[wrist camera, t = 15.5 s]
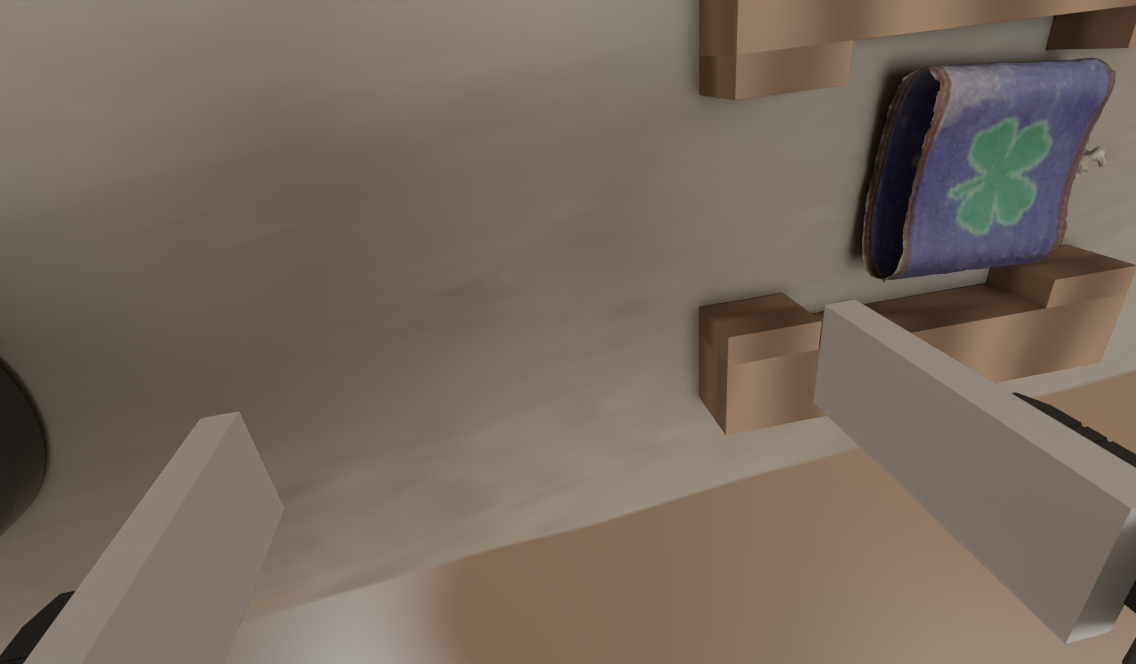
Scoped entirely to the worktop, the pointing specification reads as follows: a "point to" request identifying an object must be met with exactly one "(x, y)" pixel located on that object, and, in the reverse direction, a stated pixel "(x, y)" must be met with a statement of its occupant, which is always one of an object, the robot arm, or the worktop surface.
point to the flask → (981, 165)
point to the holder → (942, 319)
